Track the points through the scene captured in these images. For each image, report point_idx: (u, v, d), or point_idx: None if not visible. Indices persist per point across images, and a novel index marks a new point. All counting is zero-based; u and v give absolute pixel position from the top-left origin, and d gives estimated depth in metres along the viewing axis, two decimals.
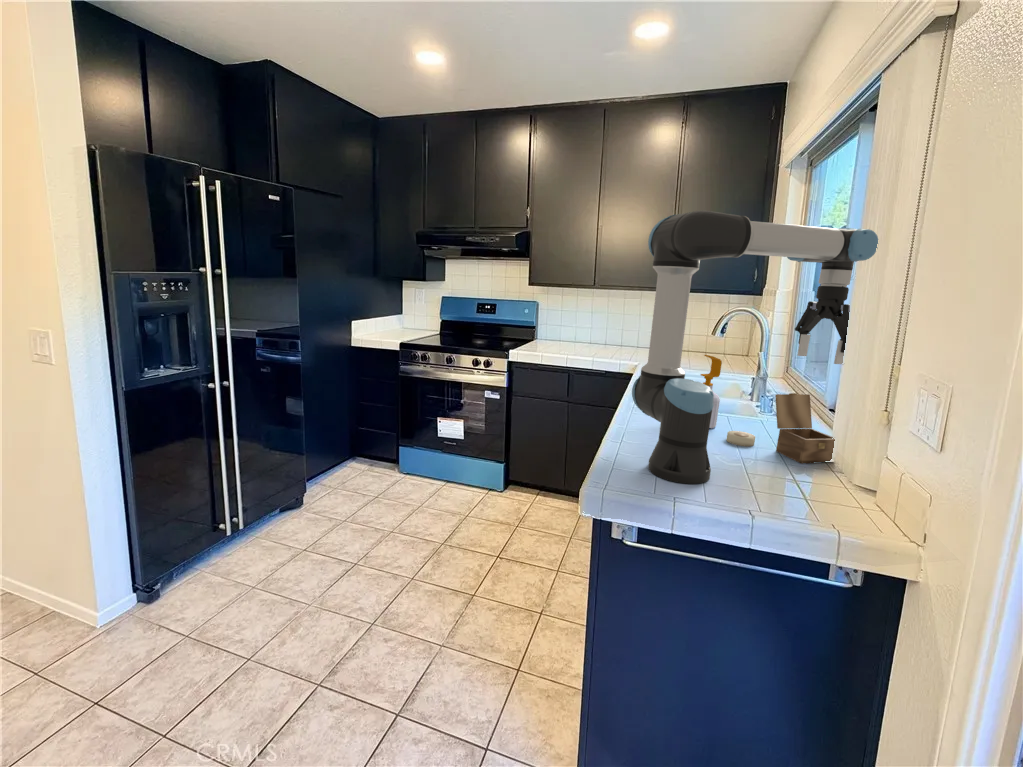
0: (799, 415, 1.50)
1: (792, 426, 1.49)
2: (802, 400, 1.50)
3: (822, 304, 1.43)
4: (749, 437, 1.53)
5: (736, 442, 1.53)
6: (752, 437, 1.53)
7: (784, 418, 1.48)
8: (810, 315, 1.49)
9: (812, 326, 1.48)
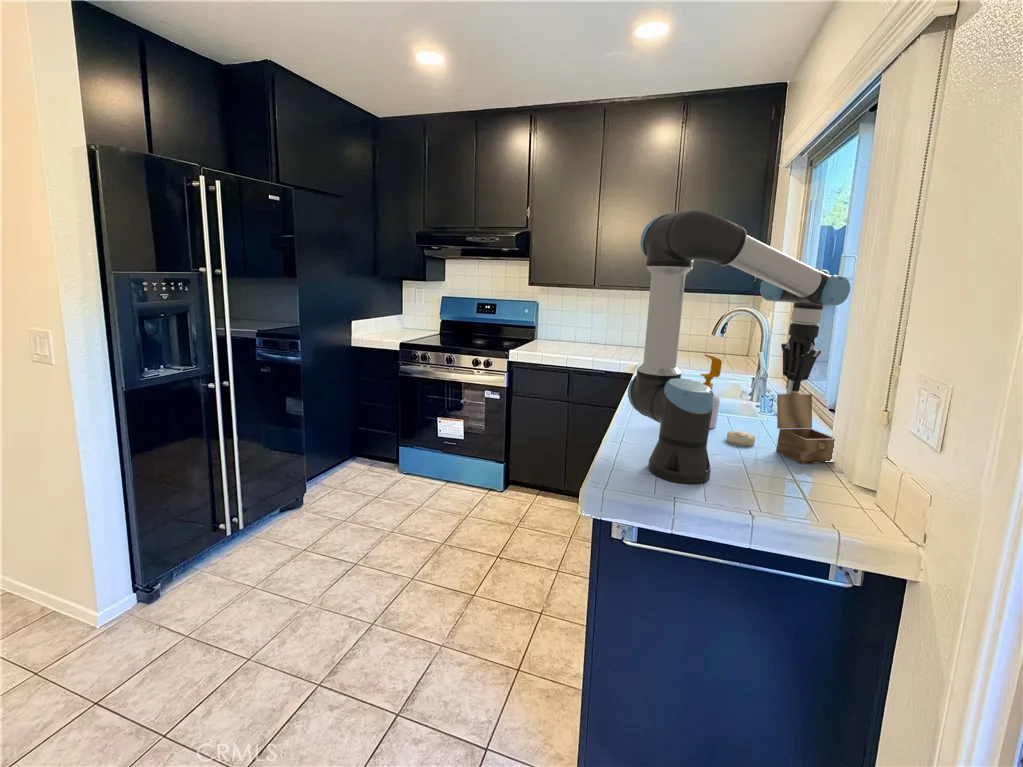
0: (800, 415, 1.49)
1: (792, 426, 1.49)
2: (804, 400, 1.50)
3: (793, 337, 1.48)
4: (749, 437, 1.53)
5: (736, 442, 1.53)
6: (752, 437, 1.53)
7: (785, 418, 1.48)
8: (789, 356, 1.52)
9: None
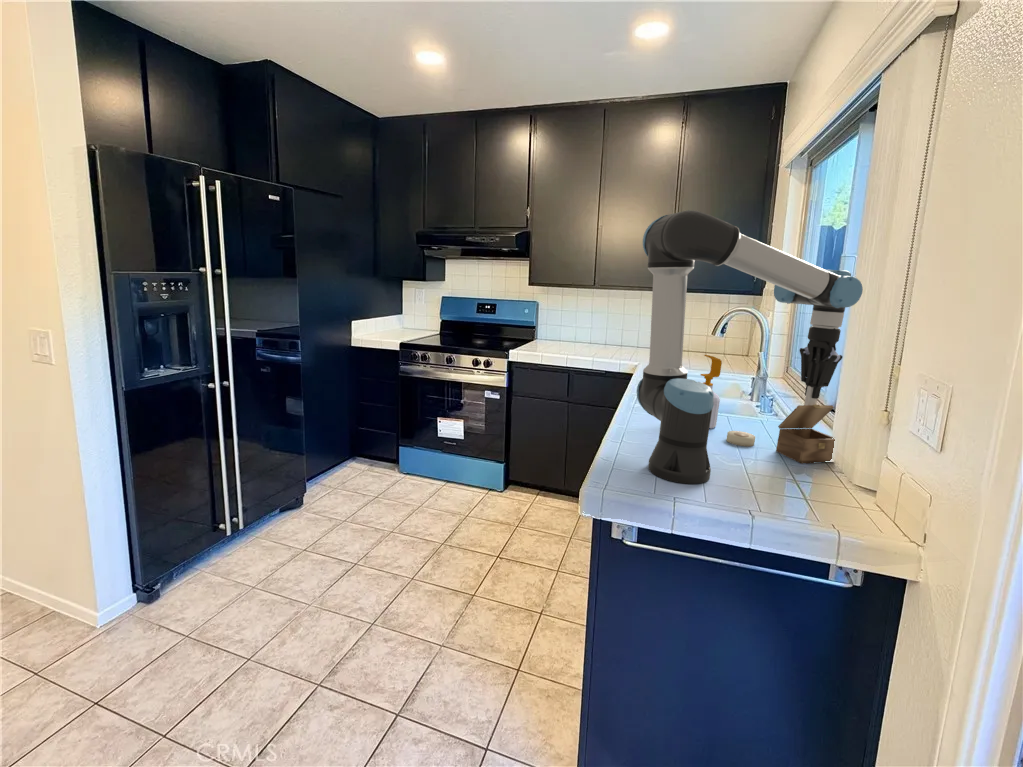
0: (808, 420, 1.46)
1: (793, 427, 1.48)
2: (821, 411, 1.43)
3: (813, 341, 1.41)
4: (749, 437, 1.53)
5: (736, 442, 1.53)
6: (752, 437, 1.53)
7: (790, 422, 1.46)
8: (808, 361, 1.45)
9: None
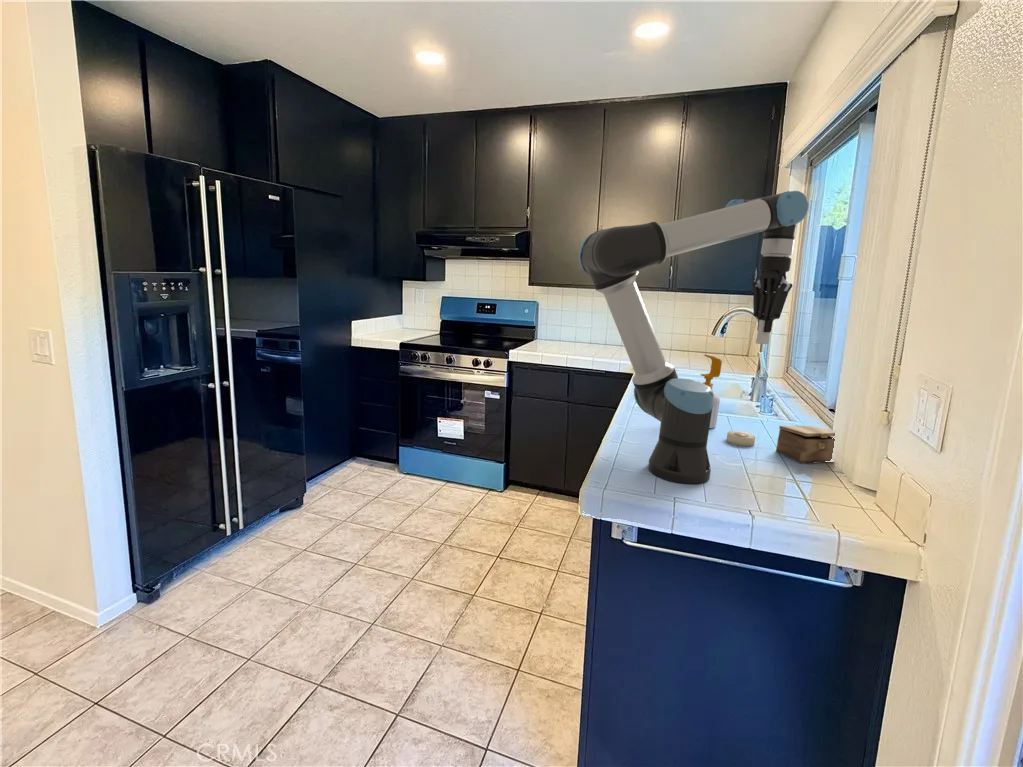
0: None
1: None
2: None
3: (764, 273, 1.36)
4: (749, 437, 1.53)
5: (736, 442, 1.53)
6: (752, 437, 1.53)
7: None
8: (761, 295, 1.39)
9: None
